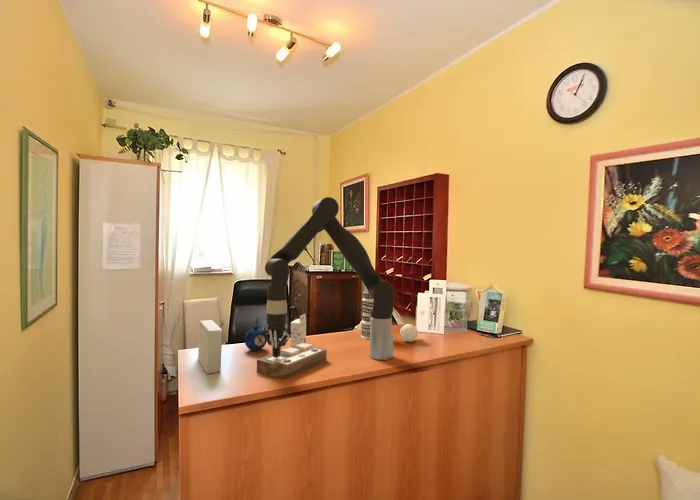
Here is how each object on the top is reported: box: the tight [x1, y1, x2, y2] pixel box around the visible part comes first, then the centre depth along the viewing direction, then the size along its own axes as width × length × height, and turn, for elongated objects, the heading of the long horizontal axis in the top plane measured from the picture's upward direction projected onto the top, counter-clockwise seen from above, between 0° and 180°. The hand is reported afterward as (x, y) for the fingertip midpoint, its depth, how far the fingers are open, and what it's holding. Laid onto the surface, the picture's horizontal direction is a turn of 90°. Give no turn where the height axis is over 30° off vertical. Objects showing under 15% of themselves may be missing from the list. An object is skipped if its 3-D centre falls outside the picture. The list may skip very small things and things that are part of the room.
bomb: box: [244, 317, 267, 352], centre depth 155 cm, size 10×11×15 cm
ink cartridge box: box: [290, 313, 307, 347], centre depth 164 cm, size 9×5×15 cm, turn 168°
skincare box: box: [197, 319, 223, 375], centre depth 136 cm, size 21×5×16 cm, turn 32°
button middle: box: [281, 346, 300, 357], centre depth 137 cm, size 5×5×3 cm
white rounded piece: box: [399, 323, 419, 343], centre depth 174 cm, size 9×9×12 cm
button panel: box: [256, 346, 328, 381], centre depth 136 cm, size 14×25×4 cm, turn 147°
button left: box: [266, 357, 286, 363], centre depth 130 cm, size 5×5×3 cm
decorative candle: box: [360, 288, 374, 340], centre depth 180 cm, size 9×9×25 cm
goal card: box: [278, 347, 323, 365], centre depth 134 cm, size 4×21×1 cm, turn 147°
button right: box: [295, 342, 313, 352], centre depth 144 cm, size 5×5×3 cm
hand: (276, 357), depth 130 cm, fingers closed
